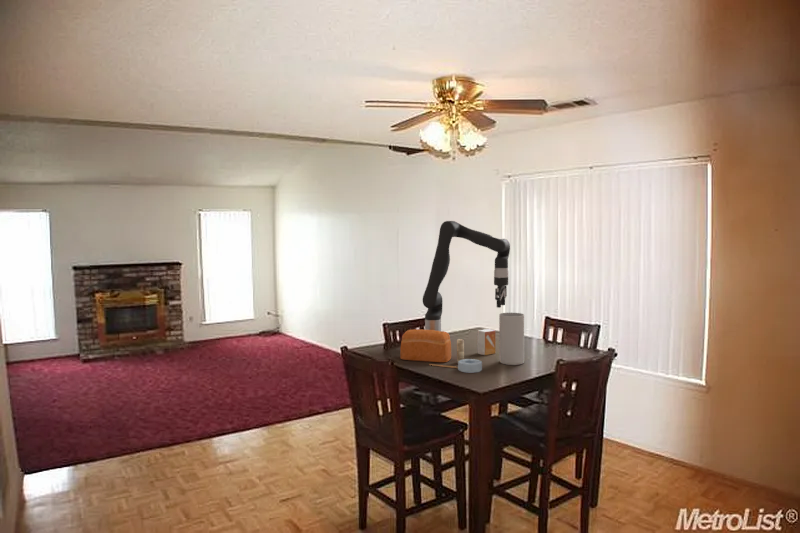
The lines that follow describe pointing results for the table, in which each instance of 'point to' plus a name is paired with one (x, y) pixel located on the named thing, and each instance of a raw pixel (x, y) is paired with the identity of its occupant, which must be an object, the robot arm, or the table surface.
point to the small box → (486, 341)
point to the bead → (469, 365)
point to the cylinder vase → (511, 338)
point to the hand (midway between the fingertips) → (500, 306)
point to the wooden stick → (443, 366)
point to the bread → (425, 346)
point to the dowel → (460, 349)
